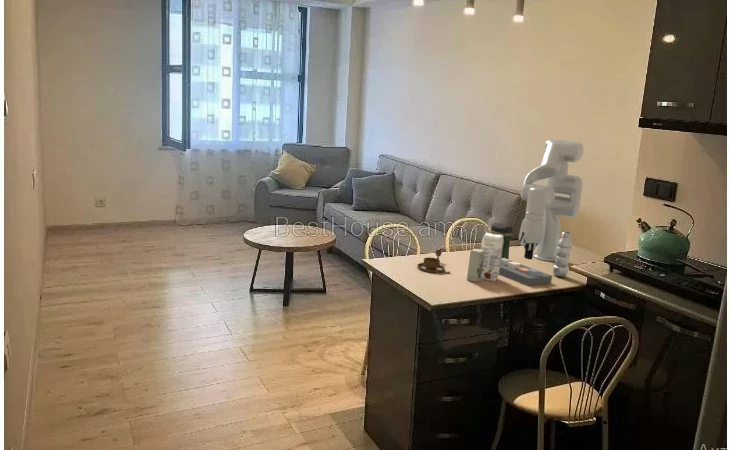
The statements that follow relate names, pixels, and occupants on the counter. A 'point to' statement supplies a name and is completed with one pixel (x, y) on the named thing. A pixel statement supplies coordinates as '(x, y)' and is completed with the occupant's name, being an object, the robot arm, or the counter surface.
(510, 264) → the key
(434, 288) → the counter surface
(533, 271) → the key
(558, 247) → the plastic bottle
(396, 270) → the counter surface
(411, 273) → the counter surface
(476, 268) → the box
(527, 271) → the key
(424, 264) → the brown cup and saucer
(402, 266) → the counter surface
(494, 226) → the coffee jar
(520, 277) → the keypad
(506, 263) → the key
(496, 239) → the juice carton
